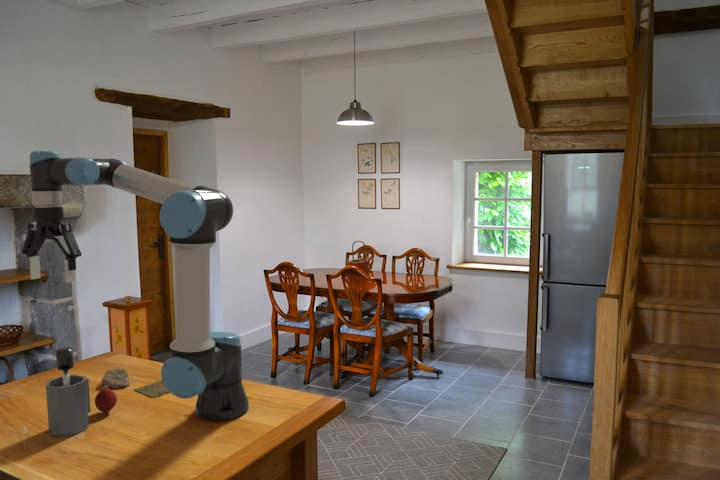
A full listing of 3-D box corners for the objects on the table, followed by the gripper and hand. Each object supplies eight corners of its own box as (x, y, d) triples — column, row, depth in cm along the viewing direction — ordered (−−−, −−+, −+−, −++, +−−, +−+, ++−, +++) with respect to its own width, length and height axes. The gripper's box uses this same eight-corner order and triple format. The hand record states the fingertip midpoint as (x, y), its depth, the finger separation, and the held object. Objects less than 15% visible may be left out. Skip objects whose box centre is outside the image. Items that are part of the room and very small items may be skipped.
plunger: (87, 413, 157) (83, 347, 155) (67, 423, 151) (63, 354, 149) (69, 410, 159) (65, 344, 157) (49, 419, 153) (44, 351, 151)
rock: (99, 383, 190) (101, 387, 182) (103, 365, 191) (105, 368, 183) (126, 385, 194) (129, 389, 185) (130, 368, 195) (133, 371, 186)
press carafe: (101, 421, 160) (98, 375, 158) (68, 439, 149) (64, 389, 148) (76, 416, 163) (73, 371, 162) (41, 433, 153) (38, 384, 151)
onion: (109, 417, 162) (107, 390, 162) (91, 416, 164) (89, 389, 163) (121, 409, 168) (120, 383, 167) (104, 408, 169) (102, 382, 168)
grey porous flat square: (165, 380, 193) (164, 377, 193) (186, 388, 186) (186, 385, 186) (132, 391, 184) (132, 388, 184) (153, 400, 176) (153, 397, 176)
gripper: (92, 206, 161) (96, 280, 163) (28, 204, 170) (33, 275, 172) (70, 207, 154) (75, 285, 156) (4, 206, 163) (10, 279, 165)
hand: (53, 280), depth 164 cm, fingers open, 13 cm apart
